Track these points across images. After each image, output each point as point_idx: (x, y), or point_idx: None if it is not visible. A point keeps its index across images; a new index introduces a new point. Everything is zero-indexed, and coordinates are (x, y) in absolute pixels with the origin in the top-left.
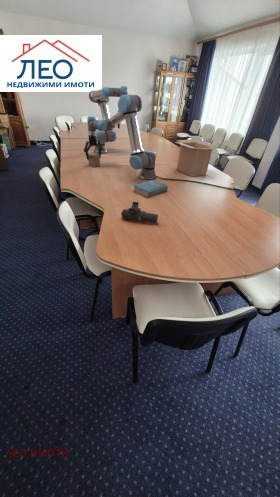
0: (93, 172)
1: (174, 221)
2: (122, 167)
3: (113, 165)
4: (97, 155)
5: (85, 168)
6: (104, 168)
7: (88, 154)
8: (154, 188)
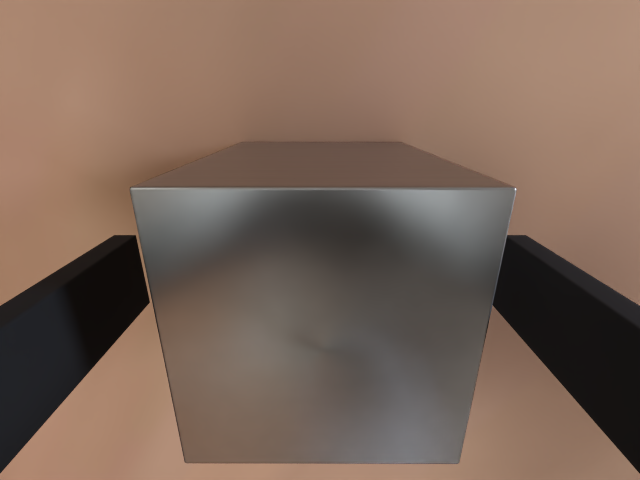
0: (160, 456)
1: None
2: (608, 462)
3: None
4: (378, 453)
5: None
6: None
7: (144, 225)
8: None
